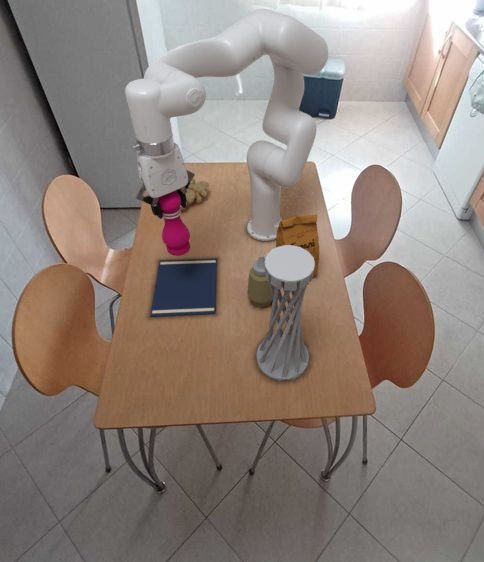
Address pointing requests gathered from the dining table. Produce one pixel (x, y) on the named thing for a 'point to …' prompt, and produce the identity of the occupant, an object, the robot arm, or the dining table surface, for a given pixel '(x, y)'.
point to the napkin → (185, 288)
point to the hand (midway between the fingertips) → (170, 210)
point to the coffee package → (300, 235)
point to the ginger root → (196, 192)
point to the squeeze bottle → (259, 284)
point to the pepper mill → (174, 225)
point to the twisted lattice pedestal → (286, 313)
